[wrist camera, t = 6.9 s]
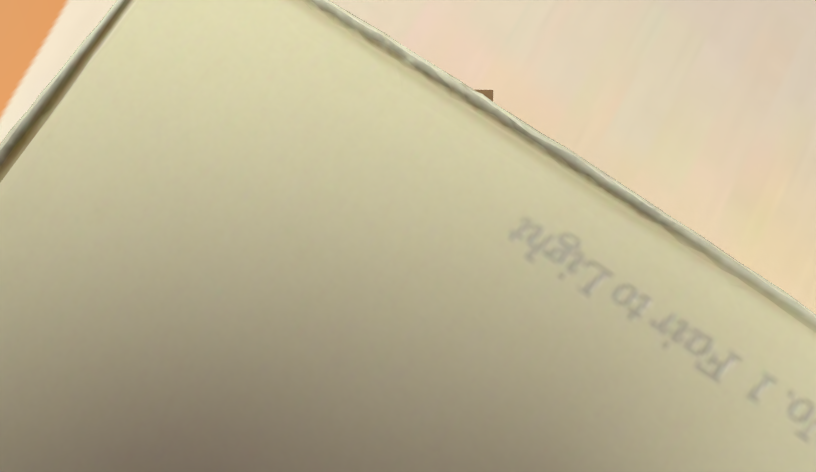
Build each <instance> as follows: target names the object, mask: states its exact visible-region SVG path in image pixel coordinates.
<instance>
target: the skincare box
mask: <svg viewBox="0 0 816 472" xmlns="http://www.w3.org/2000/svg"><path fill="white" fill-rule="evenodd" d="M0 472H816V314H814V313H813V312H812V311H810V310H809V309H808V308H806V307H805V306H804V305H802V304H801V303H800V302H798V301H797V300H795V299H794V298H793V297H791V296H790V295H789V294H787V293H786V292H785V291H783V290H782V289H780V288H778V287H777V286H775V285H774V284H772V283H770V282H769V281H767V280H766V279H764V278H763V277H762V276H760V275H759V274H757V273H755V272H754V271H752V270H751V269H749V268H747V267H746V266H744V265H743V264H741V263H740V262H738V261H737V260H735V259H734V258H732V257H731V256H730V255H728V254H727V253H725V252H724V251H722V250H721V249H719V248H718V247H717V246H715V245H714V244H712V243H711V242H709V241H708V240H706V239H705V238H704V237H702V236H701V235H699V234H697V233H696V232H694V231H693V230H691V229H689V228H688V227H686V226H685V225H683V224H682V223H680V222H678V221H677V220H675V219H674V218H672V217H670V216H669V215H667V214H666V213H664V212H663V211H661V210H660V209H659V208H657V207H656V206H654V205H653V204H651V203H650V202H648V201H647V200H645V199H644V198H642V197H641V196H639V195H638V194H636V193H635V192H633V191H632V190H630V189H628V188H627V187H625V186H624V185H622V184H621V183H619V182H618V181H616V180H615V179H613V178H612V177H610V176H609V175H607V174H606V173H604V172H603V171H601V170H600V169H598V168H597V167H595V166H594V165H592V164H591V163H589V162H587V161H586V160H584V159H583V158H581V157H580V156H578V155H577V154H575V153H574V152H572V151H571V150H569V149H568V148H566V147H565V146H563V145H561V144H559V143H558V142H556V141H554V140H552V139H551V138H549V137H547V136H545V135H544V134H542V133H541V132H539V131H537V130H536V129H534V128H533V127H531V126H530V125H528V124H527V123H525V122H524V121H522V120H520V119H519V118H517V117H516V116H514V115H512V114H511V113H509V112H507V111H506V110H504V109H502V108H501V107H499V106H498V105H497V104H495V103H494V102H493V101H491V100H490V99H489V98H487V97H486V96H485V95H483V94H482V93H479V92H477V91H475V90H473V89H472V88H470V87H469V86H467V85H466V84H464V83H463V82H461V81H460V80H458V79H457V78H455V77H453V76H451V75H450V74H448V73H446V72H445V71H443V70H441V69H440V68H438V67H436V66H435V65H433V64H432V63H430V62H428V61H427V60H425V59H423V58H422V57H420V56H419V55H417V54H416V53H414V52H412V51H411V50H409V49H408V48H406V47H404V46H403V45H401V44H400V43H398V42H397V41H395V40H394V39H393V38H391V37H390V36H388V35H387V34H385V33H384V32H382V31H380V30H379V29H377V28H375V27H373V26H372V25H370V24H368V23H367V22H365V21H363V20H361V19H360V18H358V17H356V16H355V15H353V14H351V13H349V12H348V11H346V10H344V9H343V8H341V7H339V6H337V5H336V4H334V3H333V2H331V1H330V0H117V1H116V2H115V3H114V5H113V6H112V7H111V8H110V10H109V11H108V12H107V14H106V15H105V16H104V18H103V19H102V20H101V21H100V23H99V24H98V25H97V26H96V27H95V29H94V30H93V31H92V32H91V33H90V34H89V35H88V36H87V38H86V39H85V40H84V41H83V42H82V43H81V44H80V46H79V47H78V48H77V50H76V51H75V52H74V53H73V55H72V56H71V57H70V58H69V60H68V61H67V62H66V63H65V65H64V66H63V67H62V68H61V70H60V71H59V72H58V73H57V75H56V76H55V77H54V78H53V79H52V80H51V82H50V83H49V84H48V85H47V86H46V88H45V89H44V90H43V91H42V92H41V93H40V95H39V96H38V97H37V99H36V100H35V101H34V103H33V104H32V105H31V107H30V108H29V109H28V111H27V112H26V113H25V114H24V115H23V116H22V117H21V119H20V120H19V121H18V122H17V123H16V124H15V125H14V127H13V128H12V129H11V130H10V131H9V133H8V134H7V135H6V137H5V138H4V140H3V141H2V142H1V144H0Z"/></svg>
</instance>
